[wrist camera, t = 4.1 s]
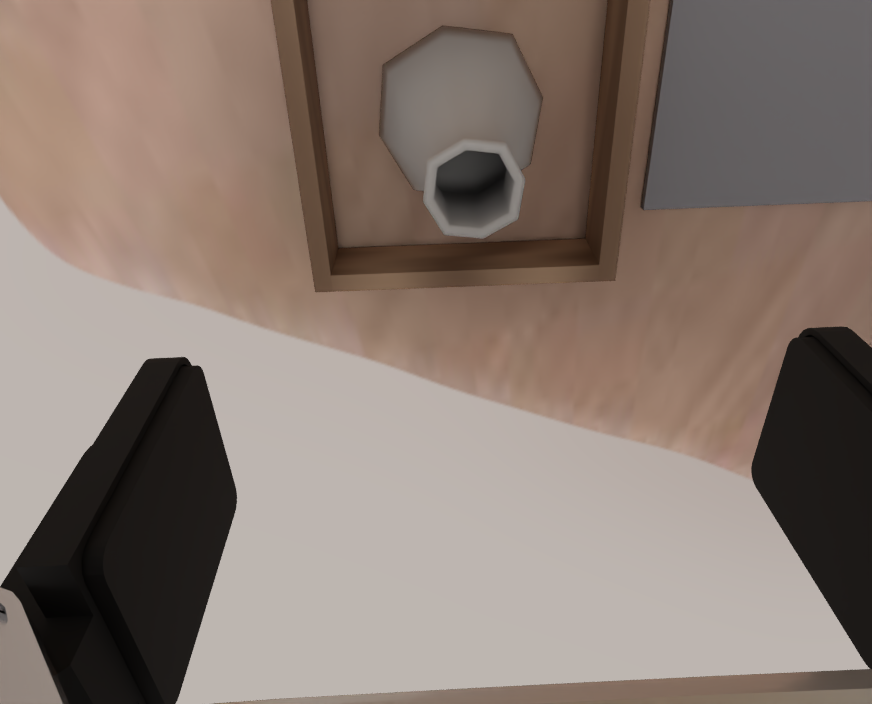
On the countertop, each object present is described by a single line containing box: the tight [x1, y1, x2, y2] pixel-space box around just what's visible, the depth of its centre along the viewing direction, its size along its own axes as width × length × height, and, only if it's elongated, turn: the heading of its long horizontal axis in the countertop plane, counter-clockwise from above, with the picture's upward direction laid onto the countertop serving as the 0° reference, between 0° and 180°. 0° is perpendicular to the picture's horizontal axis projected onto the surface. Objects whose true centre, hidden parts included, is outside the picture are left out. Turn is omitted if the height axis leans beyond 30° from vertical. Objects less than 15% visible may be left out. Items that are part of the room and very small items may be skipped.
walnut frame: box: [271, 0, 651, 292], centre depth 27 cm, size 14×14×3 cm
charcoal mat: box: [641, 0, 872, 210], centre depth 28 cm, size 11×11×1 cm
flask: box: [379, 26, 543, 239], centre depth 24 cm, size 7×7×10 cm
